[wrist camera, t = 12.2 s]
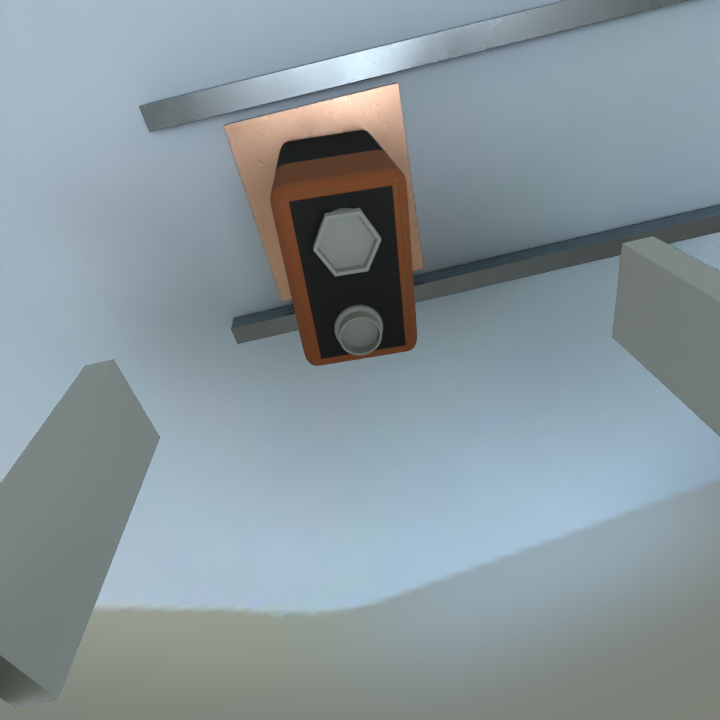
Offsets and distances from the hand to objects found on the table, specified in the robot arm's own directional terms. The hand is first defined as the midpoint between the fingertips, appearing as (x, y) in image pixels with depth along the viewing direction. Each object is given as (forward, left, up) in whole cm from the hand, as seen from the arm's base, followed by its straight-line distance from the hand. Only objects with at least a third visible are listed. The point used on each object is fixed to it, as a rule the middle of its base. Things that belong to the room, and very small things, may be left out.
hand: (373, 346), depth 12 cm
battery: (0, 0, -14) cm, 14 cm away
